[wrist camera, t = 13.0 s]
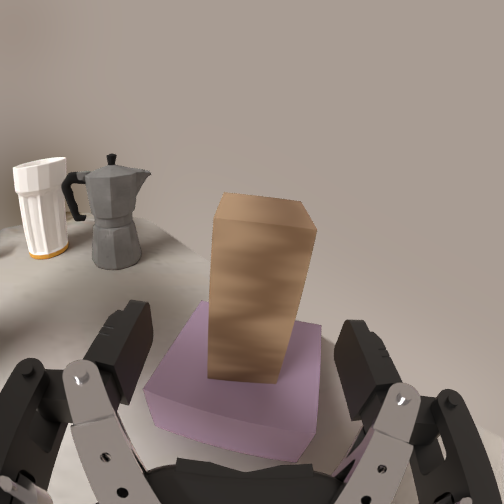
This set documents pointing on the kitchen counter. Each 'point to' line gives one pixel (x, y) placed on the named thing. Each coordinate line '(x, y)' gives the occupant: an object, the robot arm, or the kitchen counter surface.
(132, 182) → the coffeepot
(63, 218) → the cup
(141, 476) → the robot arm
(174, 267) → the kitchen counter surface
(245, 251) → the walnut block
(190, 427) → the base block
